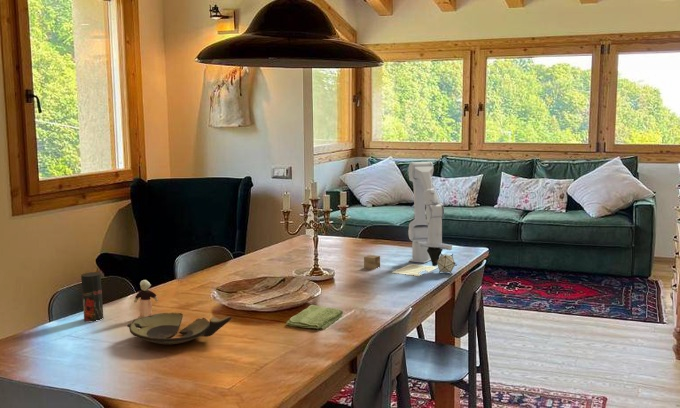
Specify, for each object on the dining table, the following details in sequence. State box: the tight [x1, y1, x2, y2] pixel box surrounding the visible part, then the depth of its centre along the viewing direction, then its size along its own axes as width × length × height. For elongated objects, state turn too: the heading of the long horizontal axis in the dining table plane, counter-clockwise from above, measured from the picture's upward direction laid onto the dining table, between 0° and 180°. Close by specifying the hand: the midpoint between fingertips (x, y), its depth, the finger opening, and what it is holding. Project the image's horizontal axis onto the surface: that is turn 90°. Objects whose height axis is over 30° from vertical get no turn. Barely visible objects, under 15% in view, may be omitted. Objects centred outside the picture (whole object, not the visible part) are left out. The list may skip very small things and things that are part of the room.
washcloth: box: [285, 304, 344, 331], centre depth 212 cm, size 13×18×3 cm
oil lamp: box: [126, 312, 233, 346], centre depth 194 cm, size 22×30×8 cm
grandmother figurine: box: [133, 279, 159, 319], centre depth 217 cm, size 8×4×13 cm, turn 105°
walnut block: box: [363, 254, 381, 270], centre depth 284 cm, size 5×5×5 cm
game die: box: [435, 252, 458, 275], centre depth 272 cm, size 9×8×10 cm
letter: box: [391, 263, 439, 277], centre depth 278 cm, size 18×13×1 cm
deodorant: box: [80, 271, 104, 322], centre depth 216 cm, size 6×6×15 cm
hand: (434, 265), depth 275 cm, fingers closed
